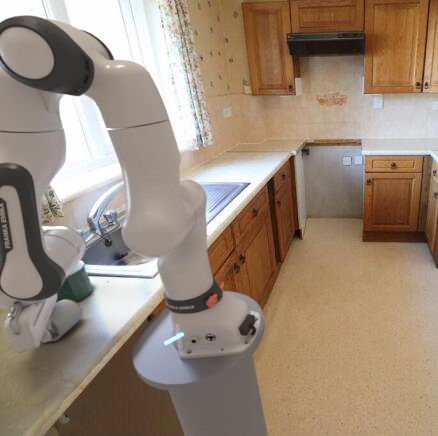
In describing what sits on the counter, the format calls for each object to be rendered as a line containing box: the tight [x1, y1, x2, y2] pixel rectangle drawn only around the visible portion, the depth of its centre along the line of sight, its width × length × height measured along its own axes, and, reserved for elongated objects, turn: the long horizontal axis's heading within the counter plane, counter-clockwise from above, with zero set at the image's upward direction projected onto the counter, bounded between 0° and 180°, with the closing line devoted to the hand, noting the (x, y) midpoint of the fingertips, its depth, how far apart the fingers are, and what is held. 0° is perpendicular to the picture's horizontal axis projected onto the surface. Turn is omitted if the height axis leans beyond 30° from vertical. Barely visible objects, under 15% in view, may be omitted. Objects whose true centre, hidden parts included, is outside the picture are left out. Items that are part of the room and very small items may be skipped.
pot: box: [56, 267, 94, 303], centre depth 95 cm, size 10×10×8 cm
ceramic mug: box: [50, 299, 84, 342], centre depth 82 cm, size 11×8×8 cm
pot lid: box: [67, 259, 85, 278], centre depth 93 cm, size 11×11×4 cm
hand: (48, 338), depth 76 cm, fingers closed
